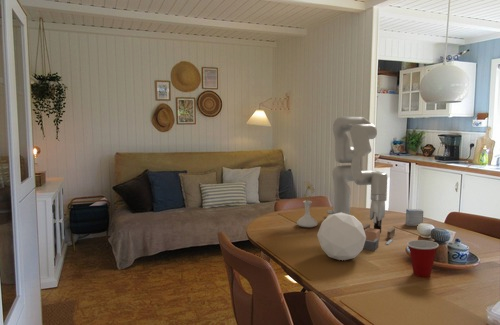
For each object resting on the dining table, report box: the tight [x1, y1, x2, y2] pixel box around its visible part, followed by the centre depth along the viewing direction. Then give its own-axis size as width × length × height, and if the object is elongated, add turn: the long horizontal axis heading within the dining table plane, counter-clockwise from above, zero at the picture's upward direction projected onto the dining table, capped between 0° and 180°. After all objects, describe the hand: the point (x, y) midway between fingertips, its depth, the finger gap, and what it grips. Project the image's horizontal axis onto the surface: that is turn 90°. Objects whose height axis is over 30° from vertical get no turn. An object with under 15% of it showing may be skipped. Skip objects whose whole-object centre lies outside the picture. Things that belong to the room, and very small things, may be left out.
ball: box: [316, 212, 366, 262], centre depth 155 cm, size 19×20×20 cm
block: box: [364, 227, 381, 241], centre depth 180 cm, size 6×6×5 cm
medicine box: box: [405, 208, 425, 227], centre depth 205 cm, size 8×4×9 cm, turn 84°
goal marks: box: [385, 238, 394, 246], centre depth 181 cm, size 17×8×1 cm, turn 55°
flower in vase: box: [296, 180, 318, 228], centre depth 204 cm, size 13×11×25 cm
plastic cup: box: [406, 239, 440, 278], centre depth 139 cm, size 11×11×12 cm
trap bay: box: [363, 239, 380, 252], centre depth 170 cm, size 12×6×4 cm, turn 55°
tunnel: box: [363, 223, 396, 240], centre depth 188 cm, size 14×8×4 cm, turn 55°
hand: (377, 232), depth 188 cm, fingers closed
